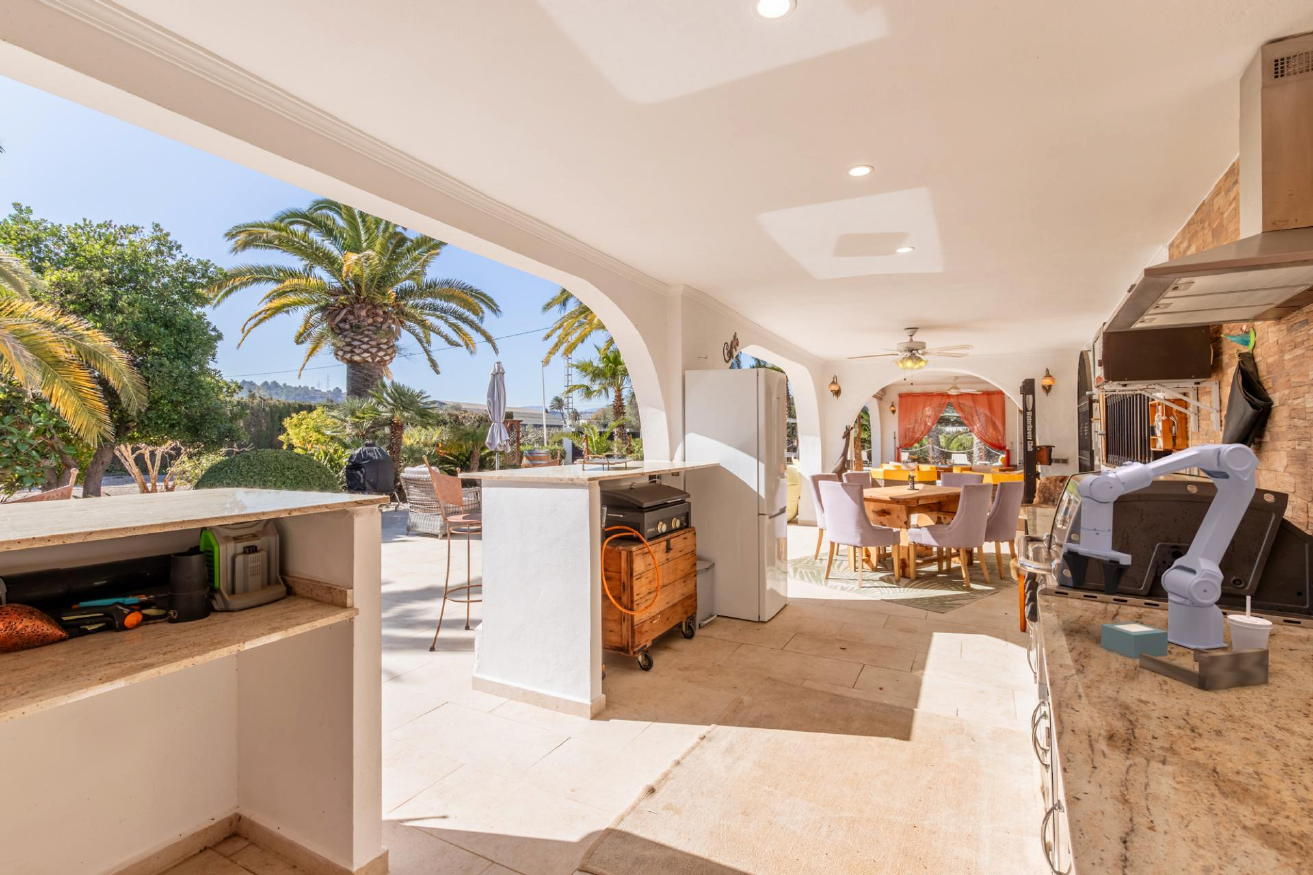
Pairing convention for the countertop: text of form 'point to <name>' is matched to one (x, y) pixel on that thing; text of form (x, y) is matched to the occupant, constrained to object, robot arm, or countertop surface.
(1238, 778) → the countertop surface
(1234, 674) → the display stand
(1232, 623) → the smoothie
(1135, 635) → the carton
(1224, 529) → the robot arm
